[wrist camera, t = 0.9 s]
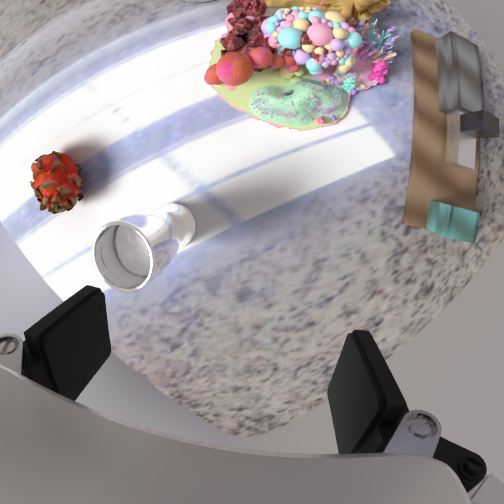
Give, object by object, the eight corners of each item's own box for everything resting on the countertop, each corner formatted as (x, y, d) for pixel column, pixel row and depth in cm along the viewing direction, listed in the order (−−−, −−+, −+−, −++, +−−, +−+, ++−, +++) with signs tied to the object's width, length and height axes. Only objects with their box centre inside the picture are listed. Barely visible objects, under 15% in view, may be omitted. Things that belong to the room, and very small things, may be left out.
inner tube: (442, 44, 25) (471, 26, 17) (458, 52, 25) (488, 37, 17) (444, 163, 30) (481, 164, 22) (461, 168, 30) (498, 171, 22)
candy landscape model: (237, -23, 26) (229, -58, 18) (390, 11, 26) (412, -17, 17) (197, 115, 33) (174, 99, 25) (373, 154, 33) (402, 150, 24)
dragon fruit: (96, 208, 39) (63, 163, 39) (98, 171, 32) (62, 126, 32) (53, 237, 34) (23, 187, 34) (45, 202, 27) (15, 150, 27)
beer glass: (202, 204, 36) (159, 225, 22) (195, 254, 38) (154, 302, 24) (153, 196, 36) (90, 213, 22) (149, 245, 38) (91, 285, 24)
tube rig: (410, 32, 27) (430, 15, 20) (470, 59, 26) (493, 49, 20) (402, 223, 35) (425, 234, 29) (462, 234, 35) (488, 246, 28)
